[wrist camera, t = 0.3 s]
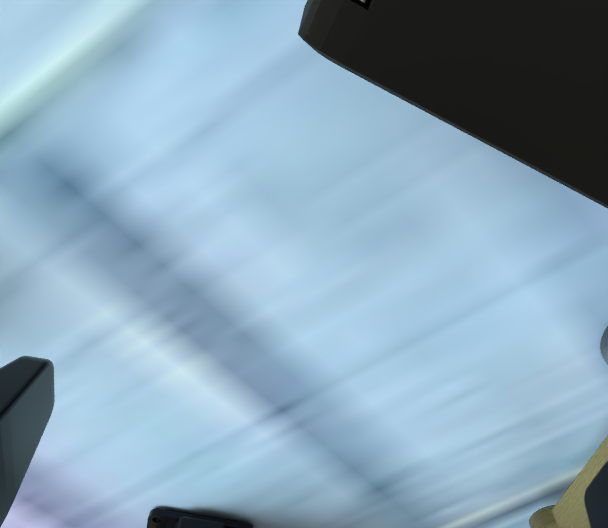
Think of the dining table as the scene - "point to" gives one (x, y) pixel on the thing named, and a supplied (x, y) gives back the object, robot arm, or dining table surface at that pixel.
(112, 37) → the dining table surface
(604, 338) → the grey round base
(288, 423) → the dining table surface
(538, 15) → the electronic device
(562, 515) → the gold bone
